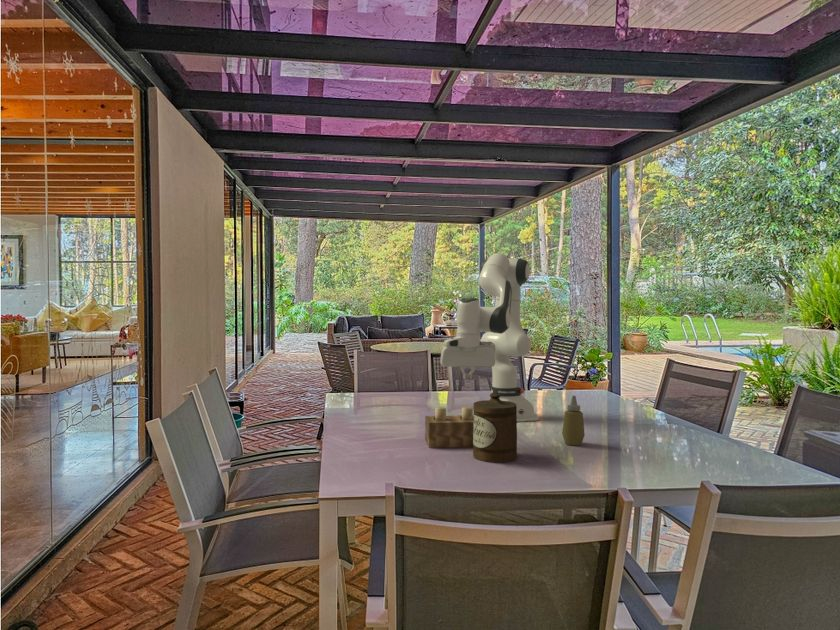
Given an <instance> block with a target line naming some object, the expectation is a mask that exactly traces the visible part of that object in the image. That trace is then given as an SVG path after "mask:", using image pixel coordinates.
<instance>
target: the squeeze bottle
mask: <svg viewBox="0 0 840 630" xmlns="http://www.w3.org/2000/svg"><path fill="white" fill-rule="evenodd" d="M577 401H578V400H577V397H576V395H571V400H570V402H569V403H570V404H567V405H566V409H567V410H565V411H564V414H563V421H562V423H563V424H562V430H561V431H562V433H561V434H562V437H563V441H564V444H565V445H567V446H572V445H573V446H577V447H578V446H581V445H582V443H583V440H584V438H585V424H584V413H583V412H582V411H581V405H579V404H578V402H577Z"/></svg>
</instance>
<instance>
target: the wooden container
mask: <svg viewBox="0 0 840 630" xmlns="http://www.w3.org/2000/svg"><path fill="white" fill-rule="evenodd" d="M489 397H490V399H487V400H478V401H475V402H474V403H473V407H472V408H473V415H474V427H473V447H472V448H473V449H472V455H473V458H475V459H477V460H479V461H481V462H490V463H508V462H509V463H510V462H511V461H514V460H516V459H517V457H518V454H517V453H518V445H517V444H518V425H517V424H518V422H517V415H516V414H517V406H516V404H515V403H513V402H509V401H501V400H500V399H499V398H500V394H499V393H497V392H493V393H491V392H490V394H489Z"/></svg>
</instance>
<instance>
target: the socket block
mask: <svg viewBox="0 0 840 630" xmlns="http://www.w3.org/2000/svg"><path fill="white" fill-rule="evenodd" d="M424 419H425V422H424V423H425V424H424V427H425V430H424V432H425V433H424V438H425V442H426V445H427V446H428V448H429V449H431V448H433V449H434V448H437V449H438V448H442V449H443V448H473V427H474V414H473V420H462V414H461V415H446V421H435V415H425V416H424Z"/></svg>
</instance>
